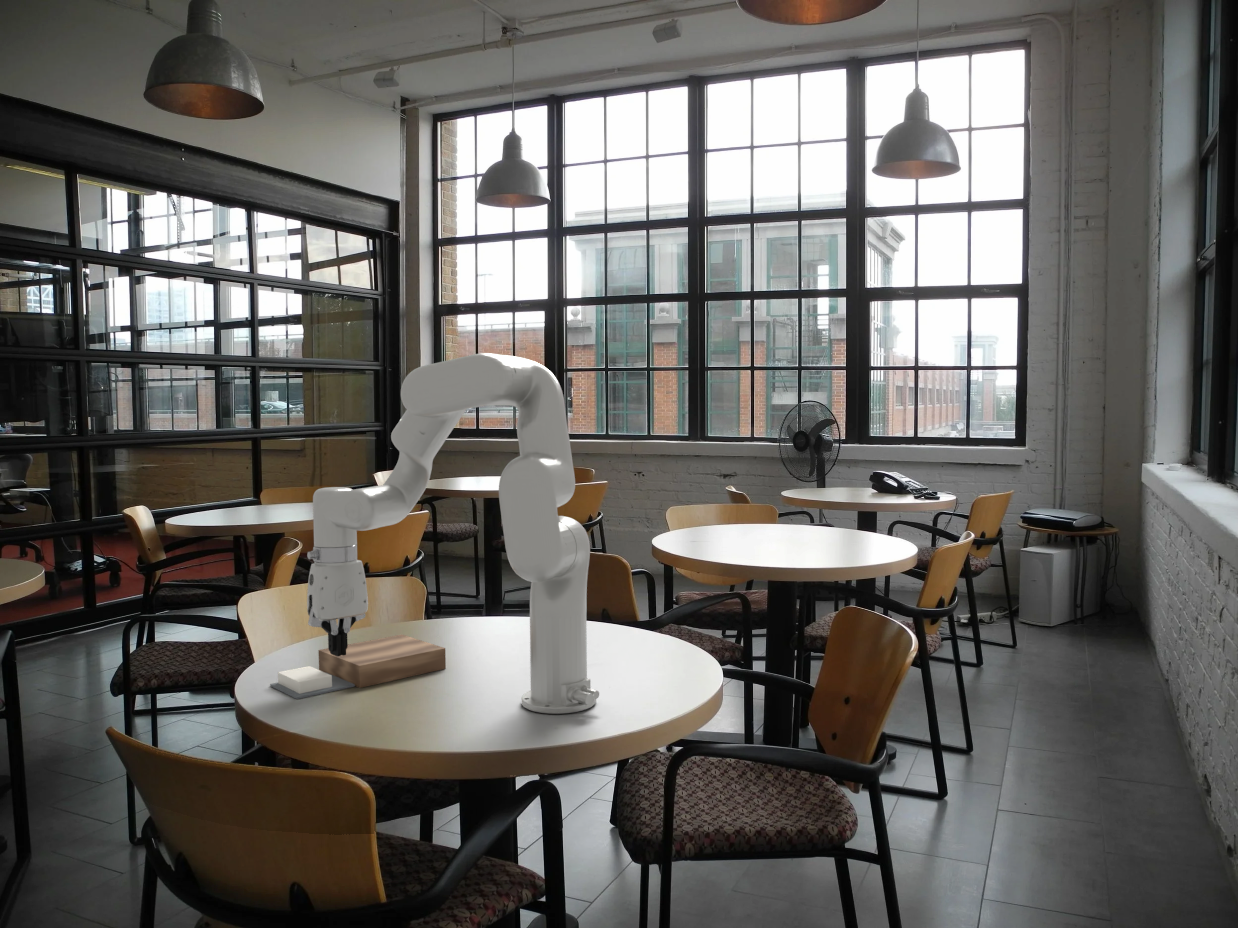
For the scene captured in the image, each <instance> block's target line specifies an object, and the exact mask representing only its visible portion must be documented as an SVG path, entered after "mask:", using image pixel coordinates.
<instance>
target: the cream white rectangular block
mask: <svg viewBox="0 0 1238 928" xmlns="http://www.w3.org/2000/svg"><path fill="white" fill-rule="evenodd" d="M277 682H278V683H279V684H281V685H283V686H285V687H287V688H289V689H291V690H293V691H295V692H297V693H299V694H300V693H305V692H310V691H314V690H319V689H324V688H328V687H332V676H331V675H329V674H327V673H325V672H322V671H320V670H319V668H318V669H317V668H315V667H313V666H310V665H308V666H304V667H303V666H302V667H299V668H293V669H292V668H291V669H287V670H282V671H277Z"/></svg>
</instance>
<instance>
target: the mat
mask: <svg viewBox="0 0 1238 928" xmlns="http://www.w3.org/2000/svg"><path fill="white" fill-rule="evenodd" d="M326 673H327V672H326ZM327 674H329V673H327ZM329 675H331V674H329ZM331 676H332V687H328V688H324V689H319V690H314V691H310V692H305V693H300V694H299V693H297V692H295V691H293V690H291V689H289V688H287V687H285V686H283V685H281V684H279V683H278V681H277V682H273V683H270V684H269V687H270V688H274V689H275V690H278V691H280V692H282V693H284V694H286V695H287V696H289V697H292V698H294V699H296V700H300V699H305V698H309V697H314V696H317V695H322V694H327V693H330V692H335V691H339V690H346V689H349V688H354V687H356V686H355V684H353V683H351V682H348V681H346V680H343V679H341V678H339V677H336V676H334V675H331Z"/></svg>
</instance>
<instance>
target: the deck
mask: <svg viewBox="0 0 1238 928" xmlns="http://www.w3.org/2000/svg"><path fill="white" fill-rule="evenodd" d="M446 663H447V662H446V647H443V646H439V645H436V644H433V643H430V642H428V641H424V640H420V639H418V638H414V637H411V636H408V635H405V634H398V635H396V634H395V635H392V636H387V637H381V638H376V639H372V640H370V639H369V640H365V641H364V640H363V641H360V642H359V641H358V642H355V643H350V644H348V647H347V649H346V655H341V656H338V657H337V656H335V655H332V654H331V653H330V651H329V649H328V647H327V648H322V649H318V670H320V671H322V672H325V673H326V672H327V673H329V674H331V675H334V676H336V677H339V678H341V679H343V680H346V681H348V682H351V683H353V684H355V687H357V688H360V689H362V688H366V687H370V686H375V685H378V684H383V683H388V682H392V681H396V680H403V679H406V678H411V677H414V676H419V675H424V674H428V673H432V672H437V671H442V670H446V666H447V665H446Z"/></svg>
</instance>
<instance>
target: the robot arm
mask: <svg viewBox="0 0 1238 928" xmlns="http://www.w3.org/2000/svg"><path fill="white" fill-rule="evenodd" d="M400 387H401V389H400V399H401V402H402V404H403V407H404V408H405V409H406V410H405V412H404V413H403V415H402V416H401V418H400V419H399V421H398V423H397V424H396V425H395V427H394V428H393V430H392V432H391V433H390V434H391V435H390V439H391V442H392V444H393V445H394V447H395V448H396V449H397V450H398V452H399V455H398V460H397V463H396V465H395V466H394V468H393V469H392V471H391V473H390V474H389V476H388V477H387V479H386V480H385V481H384V483H383V484H382V485H373V486H368V487H362V488H360V487H359V488H356V489H352V488H350V487H345V486H331V487H322V488H318V489H316V490H315V491H314V493H313V495H312V507H313V508H312V512H313V513H312V514H313V547H312V550H311V551H307V555H306V556H307V559H308V560H313V562H314V563H311V565H310V568H309V575H308V582H307V592H306V593H307V594H306V595H307V596H306V598H307V599H306V607H307V608H306V609H307V615H308V616H309V617H308V623H307V625H309V626H310V627H314V628H321V630H324V631H325V633H327V640H328V641H327V642H328V643H327V644H328V647H327V648H328V649H329V651H330V653H331V654H332V655H335V656H337V657H338V656H341V655H346V649H347V647H348V634H349V632H350V631H351V628H352V627H353V625H354V624H355V622H359V621H361V620H363V619H365V618H366V613H367V612H368V608H369V597H368V595H369V594H368V586H367V579H366V574H365V568H364V565H363V561H362V560H360V559H358V534H357V533H358V532H359V531H361V532H363V531H370V530H374V529H379V528H384V527H388V526H393V525H396V524H398V523H400V522H401V521H403V520H404V519H406V517H407V516H408V515H409V514H410V513H411V511H412V510H413V509H414V507H415V506H416V504H417V503H418V501H419V500H420V499H421V497H422V495H424V492H425V491H426V489H427V488H428V485H429V482H430V479H431V474H432V469H433V461H434V459H435V457H436V455H437V453H438V452H439V451H440V450H441V448H442V446H443V445H444V444H445V442H446V440H447V439H448V437H450V436H449V435H450V434H451V433H452V431H453V430H454V428H455V427H456V425H457V424H458V423H459V421H460V420H461V418H462V416H464V414H465V412H466V411H467V410H469V409H474V408H480V407H490V406H491V407H492V406H494V407H495V406H496V407H497V406H498V407H500V406H501V407H504V406H505V407H506V406H508V407H510V406H511V407H515V408H516V409H517V413H518V417H517V423H516V434H517V440H518V447H519V449H518V450H519V455H518V456H517V457H515V458H514V459H511V460H510V461H509V462H508V463H507V465H506V466H505V467H504V469H503V470H502V472H501V474H500V478H499V483H498V500H499V508H500V509H499V510H500V515H501V523H502V531H503V538H504V545H505V551H506V556H507V559H508V562H509V564H510V567H511V568H512V570H513V571H514V573H515V574H516V575H517V576H518V577H520V578H521V579H523V580H525V581H527V582H531V584H530V591H529V592H530V593H529V657H530V658H529V660H530V661H529V665H530V667H529V669H530V675H529V676H530V690H528V691H526V692H525V693H524V694H523V695H522V696H521V705H522V706H523V708H525V709H526V710H529V711H532V712H536V713H540V714H541V713H542V714H553V715H555V714H556V715H559V714H560V715H561V714H571V713H577V712H581V711H585V710H588V709H590V708H592V707H593V706H595V705H596V703H597V700H598V698H599V696H600V692H599V690H596V689H593V688H591V687H592V686H591V678H589V677H588V660H587V658H588V654H587V653H588V652H587V649H588V648H587V644H588V643H587V642H588V641H587V634H588V633H587V610H588V609H587V598H588V597H587V595H588V593H587V591H588V589H587V587H588V575H589V566H590V557H591V556H590V555H591V544H590V539H589V535H588V533H587V530H586V529H585V527H583V525H582V524H581V523H580V522H579V521H577V520H576V519H574V518H572V517H569V516H564V515H559V513H558V508H560V507H562V506H564V505H565V504H567V503H568V502H569V501H570V500H571V498H572V497H573V495H574V493H575V491H576V490H575V489H576V478H575V477H576V476H575V469H574V463H573V457H572V456H573V454H572V449H571V448H572V447H571V441H570V434H569V429H568V428H569V427H568V421H567V415H566V407H565V406H566V405H565V399H564V397H565V396H564V394H563V393H564V392H563V390H562V387H561V385H560V382H559V380H558V379H557V377H556V376H555V375H554V373H553V372H552V371H551V370H549V369H548V368H547V367H546V366H544V365H542V364H540V363H538V362H537V361H535V360H531V359H529V358H525V357H521V356H514V355H509V354H499V353H492V352H491V353H489V352H481V353H476V354H470V355H466V356H461V357H457V358H453V359H447V360H443V361H439V362H435V363H430V364H425V365H421V366H419V367H417V368H414V369H412V370H411V372H409V373H408V374H407V375H406V376H405V378H404V379H403V382H402V384H401V386H400Z"/></svg>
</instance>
